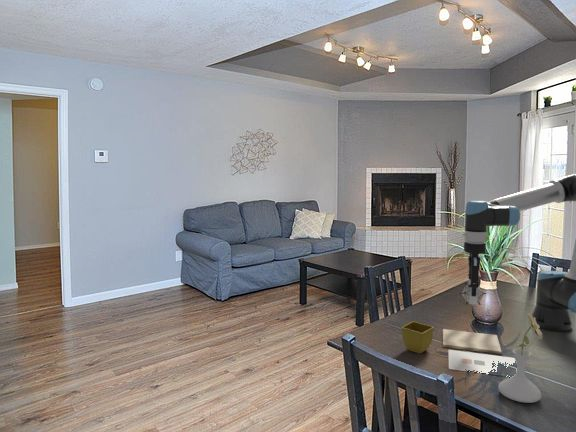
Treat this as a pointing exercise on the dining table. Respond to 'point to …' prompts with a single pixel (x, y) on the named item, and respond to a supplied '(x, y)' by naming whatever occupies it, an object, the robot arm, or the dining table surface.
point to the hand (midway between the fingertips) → (472, 300)
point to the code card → (476, 361)
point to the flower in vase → (522, 372)
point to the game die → (466, 293)
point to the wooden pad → (471, 341)
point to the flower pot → (417, 336)
